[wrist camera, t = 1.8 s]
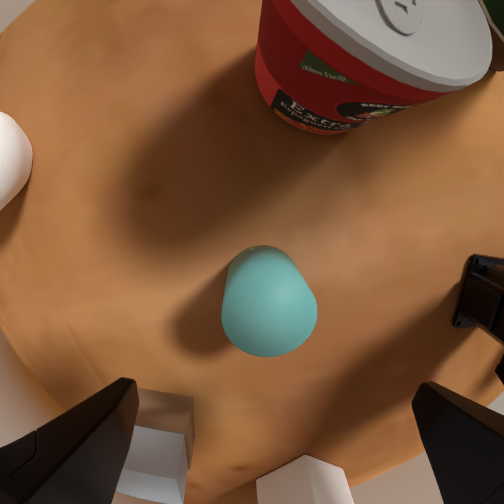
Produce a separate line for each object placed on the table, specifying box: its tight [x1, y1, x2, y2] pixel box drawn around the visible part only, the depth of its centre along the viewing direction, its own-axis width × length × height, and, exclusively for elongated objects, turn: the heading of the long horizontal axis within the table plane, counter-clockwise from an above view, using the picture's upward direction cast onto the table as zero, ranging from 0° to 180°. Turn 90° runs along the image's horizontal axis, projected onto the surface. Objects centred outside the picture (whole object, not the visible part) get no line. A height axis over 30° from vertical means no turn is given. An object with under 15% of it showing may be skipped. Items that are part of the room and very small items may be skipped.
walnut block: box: [135, 388, 195, 470], centre depth 18 cm, size 6×6×4 cm
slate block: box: [116, 426, 188, 504], centre depth 14 cm, size 5×5×4 cm
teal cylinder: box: [221, 245, 317, 357], centre depth 15 cm, size 4×4×5 cm
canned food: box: [255, 0, 492, 135], centre depth 9 cm, size 8×8×11 cm
